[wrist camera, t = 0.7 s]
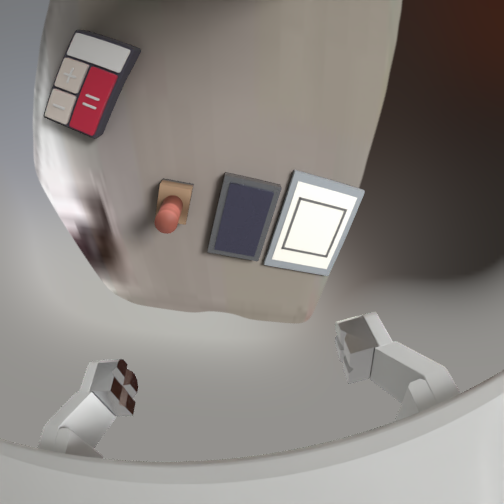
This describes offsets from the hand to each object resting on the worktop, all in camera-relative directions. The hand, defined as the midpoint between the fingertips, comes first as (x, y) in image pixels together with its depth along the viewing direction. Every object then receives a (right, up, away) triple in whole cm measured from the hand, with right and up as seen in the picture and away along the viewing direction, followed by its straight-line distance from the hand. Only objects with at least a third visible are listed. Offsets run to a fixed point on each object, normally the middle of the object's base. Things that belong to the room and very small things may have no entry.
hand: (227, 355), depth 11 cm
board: (+12, +8, +43) cm, 45 cm away
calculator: (-24, +30, +27) cm, 47 cm away
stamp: (-12, +13, +38) cm, 42 cm away
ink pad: (-1, +10, +41) cm, 42 cm away
